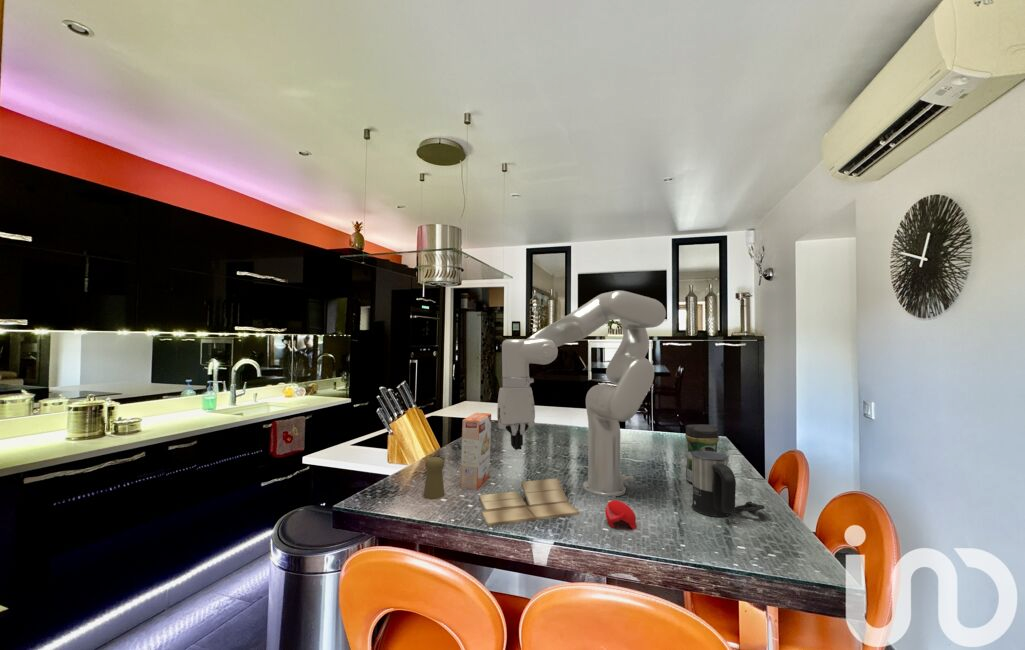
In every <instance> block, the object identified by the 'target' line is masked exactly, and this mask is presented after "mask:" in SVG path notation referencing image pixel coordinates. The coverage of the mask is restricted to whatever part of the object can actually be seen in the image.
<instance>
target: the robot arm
mask: <svg viewBox="0 0 1025 650" xmlns="http://www.w3.org/2000/svg"><path fill="white" fill-rule="evenodd" d="M666 316H667V311H666V307H665V306H664V305H663V303H662V302H660V301H659V300H657V299H656V298H651V297H649V296H644V295H641V294H638V293H633V292H630V291H626V290H613V291H608V292H604V293H600V294H598V295H596V296H595V297H593V298H592V299H590V300H588V302H586V303H584V304H582V305H581V306H580V307H578V308H576V309H575V310H573V311H572V312H570V313H568V314H567V315H565V316H563V317H561V318H560V319H558V320H557V321H554V322H552V323H550V324H549V325H547V326H545V327H543V328H541V329H540V330H538V331H537V332H535V333H534V334H531V335H530V336H529V337H527V338H526V339H524V338H522V339H520V338H519V339H518V338H516V339H513V338H512V339H511V338H510V339H504V340H503V341H502V343H501V359H502V360H501V365H502V366H501V367H502V368H501V371H502V373H501V374H502V376H501V377H502V387H499V391H498V395H497V396H498V398H497V410H496V418H497V421H498V423H497V428H498V429H500V430H506V431H508V433H509V434H510V444H511V447H512V448H513V449H514V450H515V451H517V450H519V451H520V450H522V446H524V437H523V436H524V434H525V432H526V431H527V430H528V429H529V428H532V427H534V426H535V425H536V423H535V421H536V420H535V419H536V410H535V407H536V406H535V400H534V395H533V390H532V387H531V384H533V383H534V382H535V379H534V378H533V377H530V367H529V366H530V364H536V365H549V364H551V363H552V362H553V361H555V360H556V359H557V357H558V354H559V353H558V352H559V349H558V347H561V346H564V345H566V344H569V343H574V342H578V341H580V340H583V339H585V338H587V337H588V336H589V335H591V334H592V333H594V332H596V331H597V330H598V329H600V328H602V326H604V325H606V324H607V323H609V322H610V321H612V320H614V321H615V320H619V323H620V325H621V328H622V333H623V334H622V340H621V342H620V344H619V346H618V348H617V349H616V351H615V353H614V355H613V356H612V357H611V360H610V361H609V363H608V364H607V367H606V370H605V376H606V378H607V380H608V381H609V382H610V383H611V384H613V385H610V384H606V383H605V384H602V383H600V384H596V385H593V386H592V387H590V389H589V390H588V391H587V393H586V396H585V408H586V414H587V423H588V426H587V427H588V429H587V430H588V437H587V438H588V445H587V446H588V449H587V450H588V453H587V454H588V455H587V456H588V458H587V464H588V465H587V472H588V473H587V478H588V479H587V480H585V481H584V482H583V484H582V488H583V490H584V491H587V492H588V493H590V494H594V495H598V496H602V497H603V496H605V497H606V496H607V497H616V496H617V497H621V496H623V495H625V494H626V486H625V485H626V483H634V482H635V477H634V475H627V476H626V474H625V473H623V474H621V427H620V422H627V421H629V420H631V419H632V418H633V417H634V416H635V415H636V414H637V413H638V410H640V407H641V406H642V404H643V401H644V400H645V398H646V396H647V394H648V393H649V391H650V389H651V387H652V385H653V383H654V379H655V370H654V369H655V368H654V366H653V364H652V363H651V361H650V360H649V359H647V358H646V356H647V354H648V351H649V348H650V338H649V335H648V331H647V329H652V328H653V329H654V328H657V327H659V326H660V325H661V324H663V323H664V322H665V320H666ZM614 385H615V386H614ZM516 425H517V428H516Z"/></svg>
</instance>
